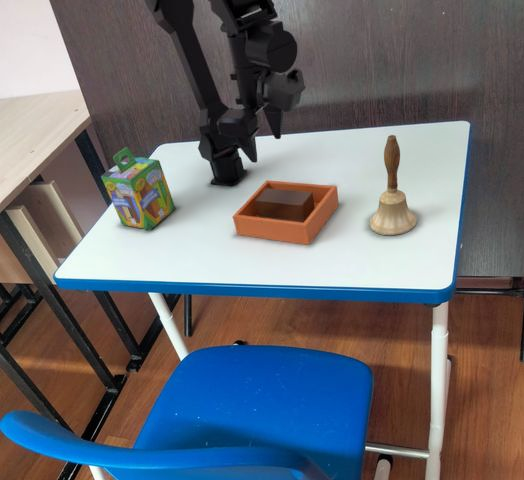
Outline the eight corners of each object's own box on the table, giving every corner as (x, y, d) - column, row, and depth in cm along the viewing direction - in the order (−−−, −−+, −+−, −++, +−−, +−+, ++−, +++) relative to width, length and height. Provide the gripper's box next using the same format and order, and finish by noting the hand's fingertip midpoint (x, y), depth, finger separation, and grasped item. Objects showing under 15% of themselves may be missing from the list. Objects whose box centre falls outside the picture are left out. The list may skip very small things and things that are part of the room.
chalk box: (151, 231, 110) (124, 165, 100) (120, 225, 115) (91, 161, 105) (177, 208, 115) (154, 142, 105) (147, 203, 120) (122, 139, 110)
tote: (237, 234, 103) (232, 216, 100) (270, 198, 110) (266, 180, 107) (308, 245, 95) (305, 225, 93) (339, 205, 103) (336, 185, 100)
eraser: (260, 220, 104) (255, 200, 100) (270, 208, 106) (266, 188, 103) (305, 226, 99) (301, 205, 96) (315, 213, 101) (312, 192, 98)
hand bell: (419, 210, 96) (420, 123, 85) (413, 236, 91) (413, 147, 80) (374, 210, 99) (369, 126, 88) (365, 235, 94) (359, 149, 83)
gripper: (263, 85, 80) (280, 179, 91) (316, 40, 90) (326, 129, 101) (204, 84, 85) (227, 173, 96) (261, 41, 95) (275, 126, 106)
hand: (266, 150), depth 100 cm, fingers open, 9 cm apart
